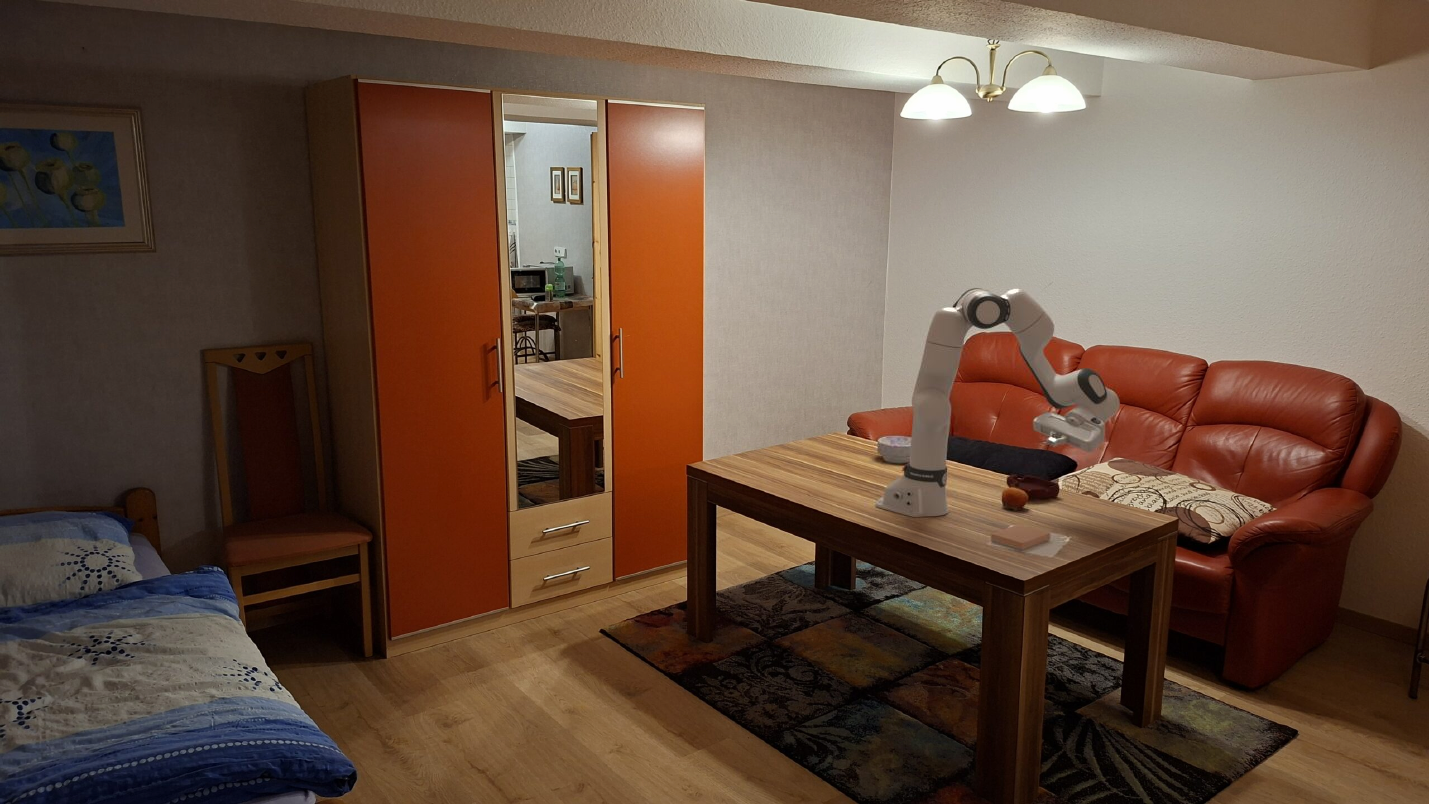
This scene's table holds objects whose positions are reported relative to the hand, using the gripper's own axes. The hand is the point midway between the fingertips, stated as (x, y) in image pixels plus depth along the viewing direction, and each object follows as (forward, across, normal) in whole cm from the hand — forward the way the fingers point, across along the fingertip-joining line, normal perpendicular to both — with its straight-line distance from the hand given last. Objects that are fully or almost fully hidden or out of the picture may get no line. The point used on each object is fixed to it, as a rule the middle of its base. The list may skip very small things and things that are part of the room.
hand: (1050, 443), depth 279 cm
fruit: (+2, -12, +29) cm, 31 cm away
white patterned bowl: (-8, -73, +44) cm, 85 cm away
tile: (+18, +8, +18) cm, 26 cm away
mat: (+22, +10, +18) cm, 30 cm away
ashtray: (-13, -16, +36) cm, 42 cm away
